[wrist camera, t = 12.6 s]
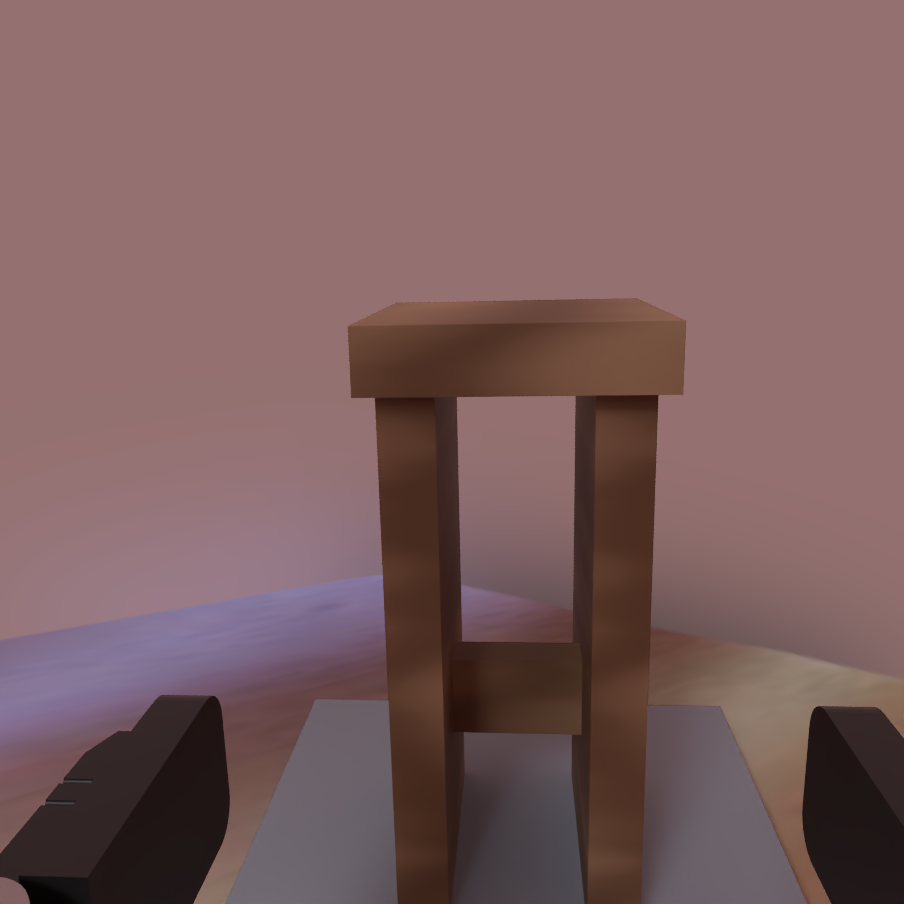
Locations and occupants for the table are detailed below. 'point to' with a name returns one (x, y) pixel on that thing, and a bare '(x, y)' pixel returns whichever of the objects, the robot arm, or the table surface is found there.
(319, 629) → the table surface
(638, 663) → the stool
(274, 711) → the table surface
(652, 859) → the mat
